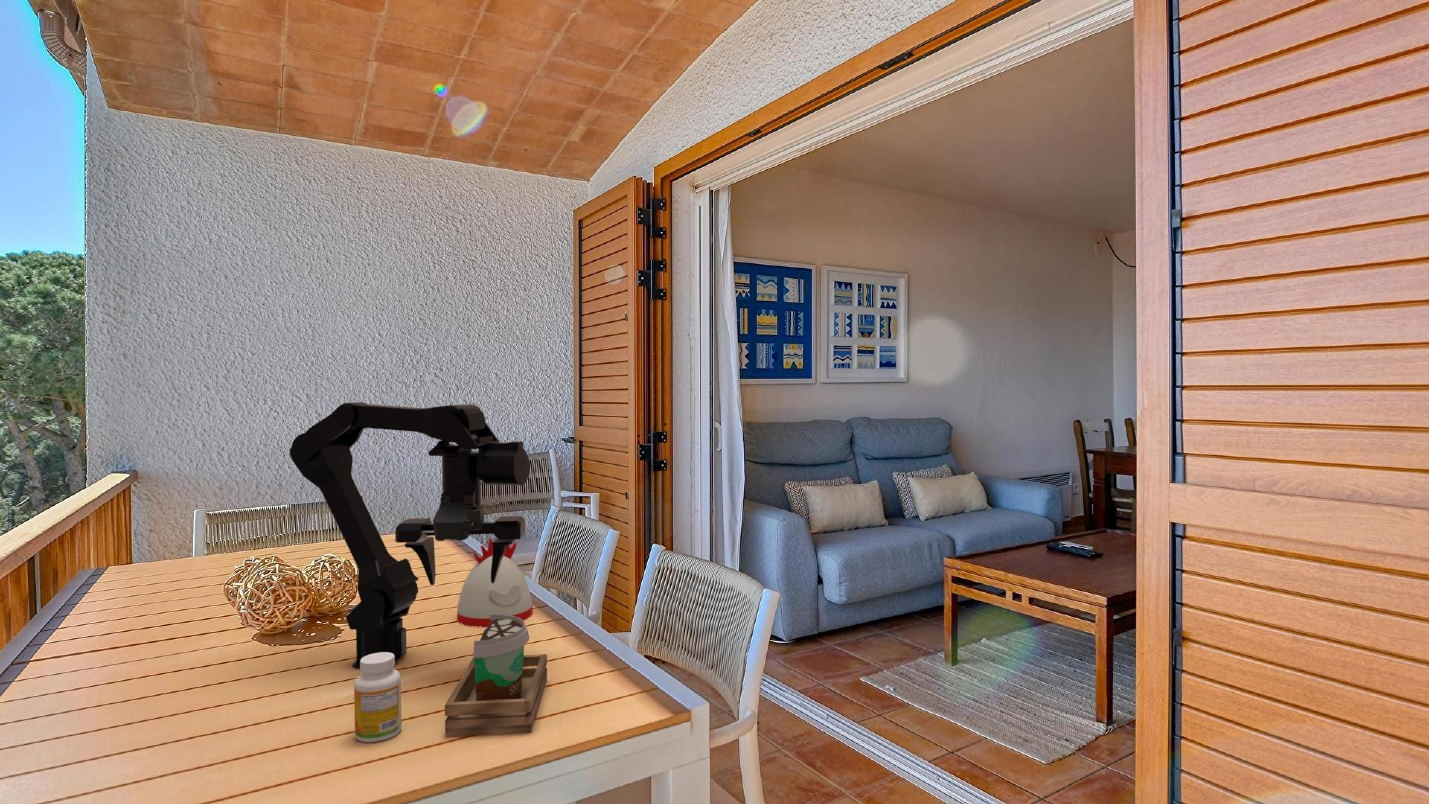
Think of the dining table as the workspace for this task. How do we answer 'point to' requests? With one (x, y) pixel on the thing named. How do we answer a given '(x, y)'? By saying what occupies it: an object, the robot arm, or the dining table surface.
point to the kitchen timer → (494, 591)
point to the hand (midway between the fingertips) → (463, 583)
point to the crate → (496, 704)
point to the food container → (500, 659)
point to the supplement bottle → (377, 698)
